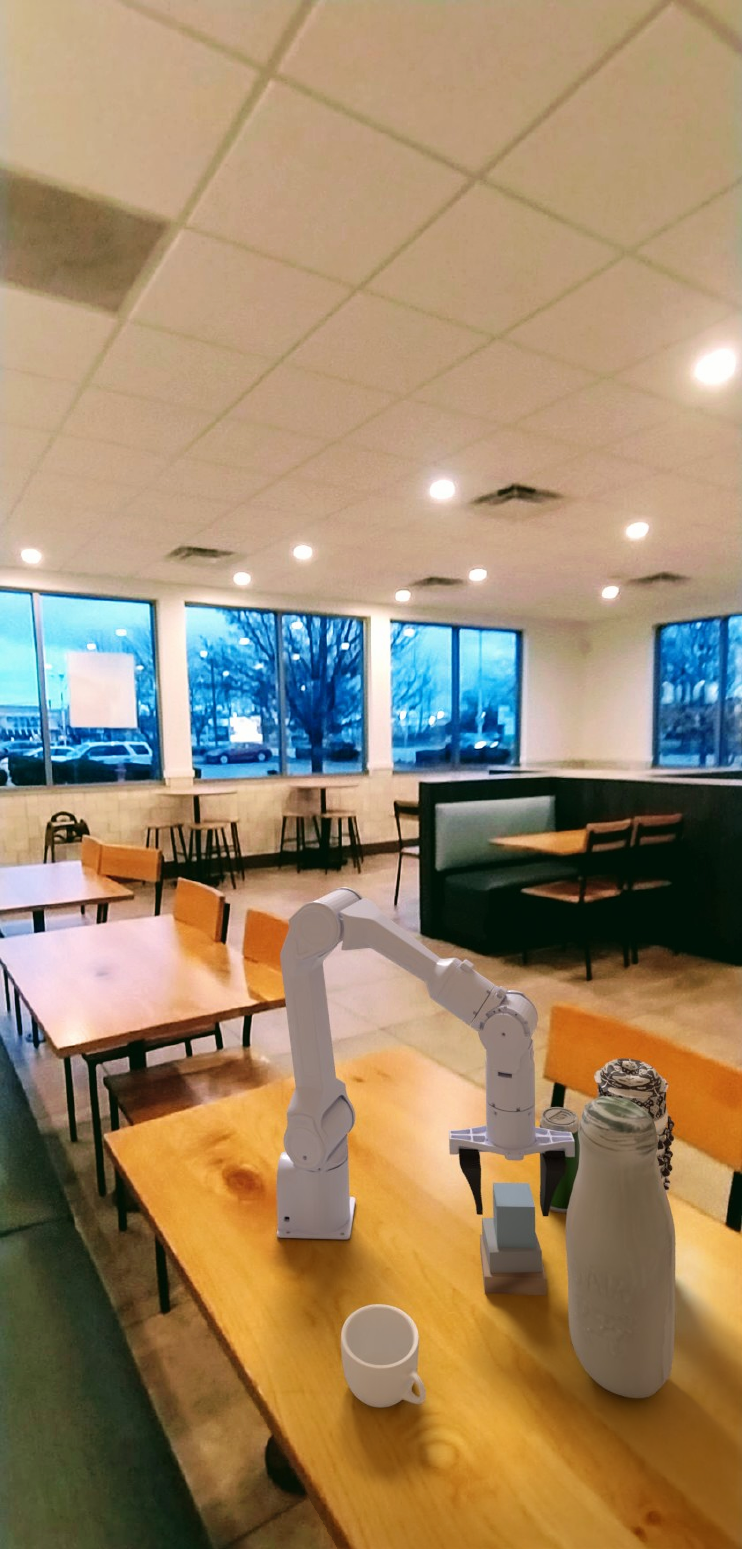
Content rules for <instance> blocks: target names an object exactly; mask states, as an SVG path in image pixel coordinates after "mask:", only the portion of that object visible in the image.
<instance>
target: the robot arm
mask: <svg viewBox="0 0 742 1549" xmlns="http://www.w3.org/2000/svg"><path fill="white" fill-rule="evenodd" d="M288 928H289V929H288V931H287V933H286V937H285V939H284V942H283V945H282V948H281V950H280V953H279V954H280V968H281V976H282V985H283V992H284V1000H285V1001H284V1002H285V1009H286V1017H287V1025H288V1026H287V1027H288V1033H289V1042H290V1051H291V1059H292V1067H293V1075H294V1083H295V1084H294V1085H295V1087H294V1090H293V1093H292V1096H291V1099H290V1101H289V1105H288V1107H287V1111H286V1120H287V1121H286V1122H287V1123H286V1124H287V1125H286V1129H285V1132H284V1133H283V1147H284V1150H285V1151H281V1153H280V1156H279V1159H278V1163H277V1170H276V1210H277V1211H276V1212H277V1217H276V1218H277V1231H276V1236H277V1237H278V1238H282V1239H283V1238H286V1239H314V1240H315V1239H316V1240H318V1239H319V1240H321V1239H322V1240H349V1239H350V1238H351V1235H352V1228H353V1227H352V1225H353V1220H354V1214H355V1207H356V1198H355V1197H354V1196H350V1171H349V1170H350V1168H349V1166H350V1165H349V1164H350V1163H349V1162H350V1161H349V1145H348V1143H349V1142H348V1134H349V1133H350V1132H351V1131H352V1130H353V1128H354V1126H355V1124H356V1111H355V1107H354V1105H353V1104H352V1102H351V1099H349V1096H348V1092H347V1089H346V1088H347V1086H346V1085H347V1084H346V1083H345V1082H343V1080H341V1079H339V1078H337V1073H336V1064H335V1056H334V1049H333V1048H334V1047H333V1042H332V1041H333V1040H332V1032H331V1031H332V1030H331V1023H330V1014H329V1005H328V998H327V996H328V995H327V989H326V981H325V980H326V979H325V971H324V961H325V960H326V959H327V957H329V955H330V954H331V953H332V952H333V951H334V950H335V949H336V948H337V947H338V945H339V944H340V943H341V942H342V943H341V949H340V950H341V951H351V950H363V949H371V950H373V951H375V952H377V953H378V954H380V955H381V956H383V957H384V958H386V959H387V960H388V961H391V962H393V963H394V964H396V965H397V966H399V967H400V968H402V969H403V970H405V971H406V972H408V973H410V974H412V975H413V976H415V977H416V978H418V979H419V980H421V981H423V983H425V986H426V988H427V993H428V996H429V998H430V999H431V1000H432V1001H434V1002H435V1003H437V1004H438V1005H439V1006H441V1007H442V1008H444V1009H445V1010H446V1011H448V1012H449V1013H451V1014H452V1015H453V1016H454V1017H456V1018H457V1019H459V1020H460V1021H462V1023H465V1024H466V1025H467V1026H469V1027H470V1028H471V1029H473V1030H474V1031H477V1032H478V1038H479V1040H480V1043H481V1045H482V1046H483V1047H484V1049H485V1054H486V1055H485V1061H484V1062H485V1115H486V1116H485V1117H486V1118H485V1119H486V1120H485V1122H486V1123H485V1125H480V1126H474V1127H469V1128H463V1129H449V1130H448V1148H449V1155H451V1156H453V1155H458V1161H459V1167H460V1169H461V1172H462V1174H463V1175H464V1177H465V1178H466V1181H467V1182H468V1183H467V1184H468V1185H469V1188H470V1190H471V1193H472V1196H473V1197H472V1198H473V1200H474V1203H475V1204H474V1205H475V1211H476V1212H475V1213H476V1215H477V1216H478V1215H479V1216H482V1215H483V1214H484V1207H483V1198H482V1196H483V1195H482V1164H481V1153H492V1154H496V1155H501V1156H504V1158H505V1160H507V1161H513V1162H514V1161H516V1162H517V1161H523V1160H524V1156H530V1155H533V1154H539V1169H540V1168H541V1182H539V1183H540V1185H539V1207H540V1211H541V1214H542V1217H546V1218H547V1217H549V1215H550V1211H551V1209H550V1206H551V1202H552V1198H553V1196H554V1193H555V1190H556V1188H557V1186H558V1184H559V1182H560V1181H561V1179H562V1178H563V1176H564V1175H565V1173H566V1169H567V1163H566V1160H565V1156H566V1157H575V1141H574V1138H573V1135H572V1133H571V1132H560V1131H554V1130H549V1129H544V1128H540V1126H536V1085H535V1084H536V1065H535V1060H534V1057H535V1050H534V1039H532V1038H533V1035H534V1033H535V1031H536V1029H537V1026H538V1020H539V1016H538V1015H539V1014H538V1011H537V1007H536V1006H535V1005H534V1003H533V1001H531V999H530V998H528V997H527V996H526V994H524V992H522V991H519V990H513V989H508V988H506V987H505V986H503V985H500V986H498V985H496V983H493V982H492V981H490V980H489V979H488V978H486V977H485V976H484V975H482V974H480V973H479V972H478V971H477V970H475V969H474V967H475V964H474V963H472V962H471V961H470V960H468V959H464V960H463V961H462V960H461V959H459V958H457V957H449V958H441V957H439V955H437V954H435V953H434V952H433V951H431V950H430V949H429V948H428V947H427V946H425V945H424V944H423V943H421V942H420V941H419V940H418V939H416V938H415V937H414V936H413V935H412V934H410V933H408V932H407V931H406V930H405V929H404V928H402V927H401V926H400V925H398V924H397V923H396V922H394V921H393V920H392V919H391V918H389V917H388V916H387V915H386V914H384V912H382V911H381V909H380V908H379V907H378V906H377V905H376V903H375V902H374V901H373V900H371V899H369V898H367V897H363V896H362V894H360V892H358V890H355V889H353V888H350V887H346V886H345V887H344V886H342V887H338V888H335V889H334V890H333V891H330V892H329V893H328V894H326V895H324V896H321V897H319V898H318V899H315V900H314V901H308V902H307V903H305V904H304V905H302V906H301V907H300V908H299V909H298V910H297V911H295V913H294V914H292V915H291V917H289V918H288ZM483 1216H484V1215H483Z"/></svg>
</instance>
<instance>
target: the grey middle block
mask: <svg viewBox="0 0 742 1549" xmlns="http://www.w3.org/2000/svg"><path fill="white" fill-rule="evenodd" d="M536 1232H537V1231H535V1238H536V1248H501V1247H497V1242H496V1235H495V1229H494V1222H493V1217H482V1218H481V1235H482V1238H483V1243H484V1248H485V1252H486V1257H487V1261H488V1266H489V1270H490V1273H523V1272H542V1261H543V1251H542V1248H541V1245H540V1241H539V1239H538V1235H537V1233H536Z"/></svg>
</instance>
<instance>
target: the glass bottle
mask: <svg viewBox="0 0 742 1549" xmlns="http://www.w3.org/2000/svg"><path fill="white" fill-rule="evenodd" d="M579 1123H580V1124H579V1132H578V1136H579V1144H580V1157H579V1168H578V1171H577V1175H576V1178H575V1181H574V1185H573V1190H572V1193H571V1197H570V1201H569V1205H568V1209H567V1213H566V1221H565V1247H566V1249H565V1250H566V1251H565V1252H566V1269H567V1292H568V1293H567V1299H568V1300H567V1305H568V1306H567V1307H568V1308H567V1310H568V1327H569V1328H568V1329H569V1336H570V1340H571V1343H572V1346H573V1349H574V1353H575V1355H576V1357H577V1359H578V1360H579V1362H580V1364H581V1366H582V1367H583V1369H584V1370H585V1372H586V1373H587V1374H588V1375H589V1376H590V1377H591V1379H593V1380H594V1382H596V1383H597V1384H598V1385H599V1386H601V1387H602V1388H603V1389H605V1390H607V1391H608V1392H610V1393H612V1394H616V1395H618V1396H622V1397H624V1398H628V1399H629V1398H631V1399H645V1398H649V1397H651V1396H653V1395H655V1394H656V1392H658V1391H659V1389H662V1387H663V1386H664V1385H665V1383H666V1381H668V1379H669V1378H670V1377H671V1373H672V1369H673V1368H672V1367H673V1360H674V1352H675V1351H674V1350H675V1347H674V1346H675V1331H676V1330H675V1329H676V1328H675V1326H676V1325H675V1323H676V1319H675V1318H676V1317H675V1316H676V1252H677V1251H676V1245H677V1244H676V1243H677V1242H676V1228H675V1221H674V1218H673V1214H672V1209H671V1204H670V1201H669V1198H668V1195H667V1194H668V1193H667V1194H666V1191H665V1189H664V1185H663V1182H662V1178H661V1172H660V1168H659V1164H658V1159H657V1155H656V1152H657V1149H658V1139H657V1132H656V1127H655V1123H654V1121H653V1119H652V1117H651V1116H650V1115H649V1114H648V1113H647V1112H646V1111H645V1110H644V1109H643V1108H641V1107H640V1106H639V1105H637V1104H635V1103H634V1102H631V1101H629V1100H626V1099H622V1098H617V1097H608V1096H604V1097H598V1096H597V1097H596V1098H595V1099H592V1100H591V1101H590V1102H588V1103H587V1104H585V1105H584V1107H583V1110H582V1113H581V1116H580V1121H579Z"/></svg>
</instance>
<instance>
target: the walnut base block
mask: <svg viewBox="0 0 742 1549" xmlns="http://www.w3.org/2000/svg"><path fill="white" fill-rule="evenodd" d="M479 1253H480V1260H481V1271H482V1280H483V1289H484V1290H483V1291H484V1294H487V1295H488V1294H493V1295H494V1294H496V1295H497V1294H498V1295H520V1296H521V1295H522V1296H523V1295H525V1296H528V1295H529V1296H547V1276H546V1271H545V1267H544V1262H543V1260H542V1272H523V1273H490V1270H489V1266H488V1261H487V1257H486V1252H485V1248H484V1243H483V1238H482V1234H479Z"/></svg>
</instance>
